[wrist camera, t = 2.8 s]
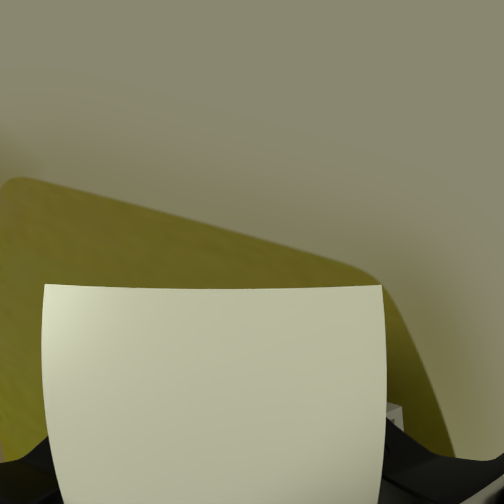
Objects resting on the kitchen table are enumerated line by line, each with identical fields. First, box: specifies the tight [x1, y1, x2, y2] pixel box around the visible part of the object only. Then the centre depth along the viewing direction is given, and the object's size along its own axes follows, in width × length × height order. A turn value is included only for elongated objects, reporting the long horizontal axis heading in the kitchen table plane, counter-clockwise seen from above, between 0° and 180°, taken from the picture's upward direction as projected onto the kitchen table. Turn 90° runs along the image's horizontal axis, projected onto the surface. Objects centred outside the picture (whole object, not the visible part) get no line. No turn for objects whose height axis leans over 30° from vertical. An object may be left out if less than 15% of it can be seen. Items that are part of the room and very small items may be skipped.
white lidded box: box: [42, 284, 387, 504], centre depth 10 cm, size 6×6×13 cm
